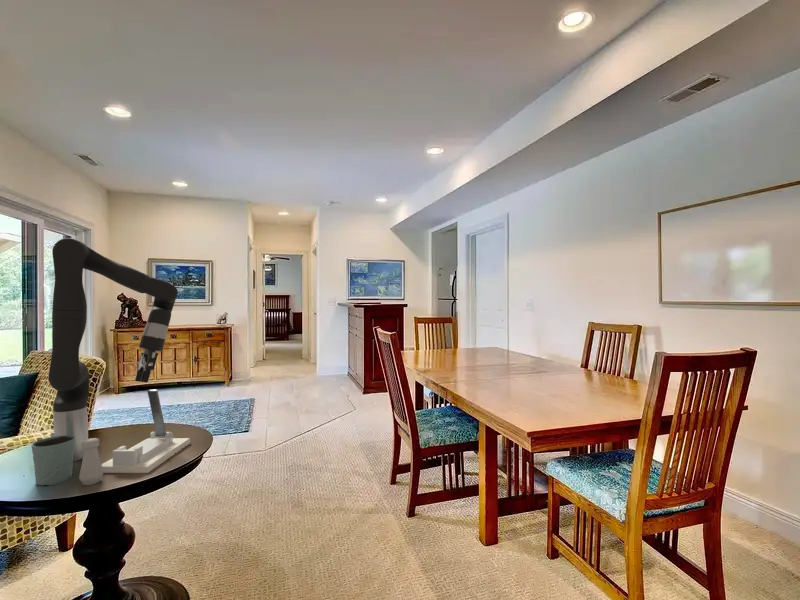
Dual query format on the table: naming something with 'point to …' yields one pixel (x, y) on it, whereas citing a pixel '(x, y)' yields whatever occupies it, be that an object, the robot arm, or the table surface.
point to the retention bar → (156, 412)
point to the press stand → (144, 454)
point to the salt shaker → (90, 463)
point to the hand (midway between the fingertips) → (141, 381)
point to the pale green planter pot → (53, 459)
